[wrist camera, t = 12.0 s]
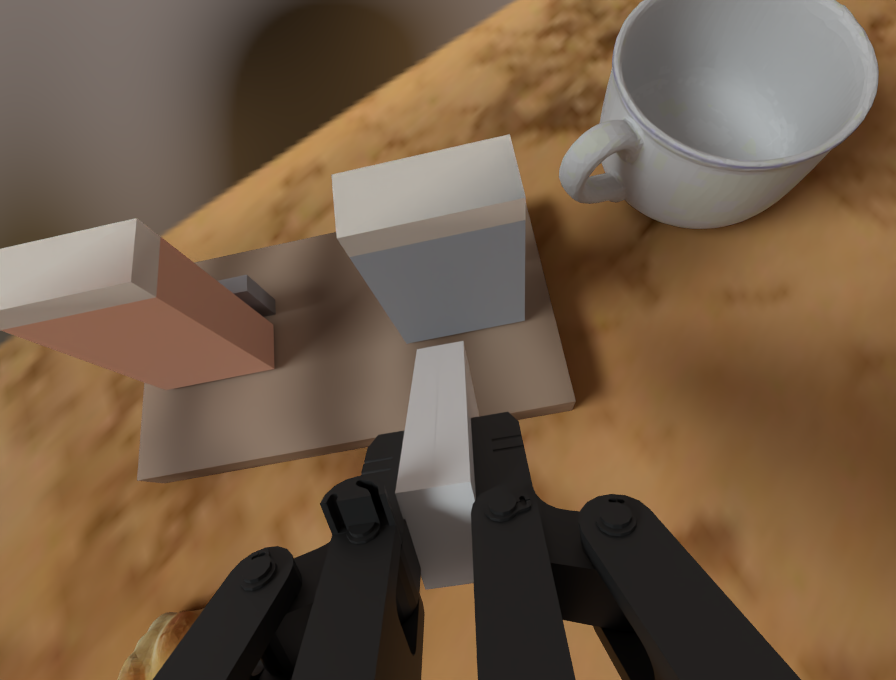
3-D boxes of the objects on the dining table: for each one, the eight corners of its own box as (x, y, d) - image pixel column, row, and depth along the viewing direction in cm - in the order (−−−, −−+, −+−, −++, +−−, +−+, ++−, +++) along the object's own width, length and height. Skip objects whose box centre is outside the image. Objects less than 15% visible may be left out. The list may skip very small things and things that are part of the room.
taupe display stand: (523, 212, 29) (522, 154, 24) (571, 410, 25) (583, 385, 20) (174, 286, 31) (113, 245, 26) (164, 483, 27) (88, 475, 22)
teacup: (728, 78, 30) (795, -65, 23) (830, 218, 26) (951, 100, 19) (513, 154, 31) (510, 37, 23) (581, 303, 27) (604, 220, 19)
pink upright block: (273, 324, 26) (136, 217, 17) (274, 369, 25) (130, 281, 16) (168, 346, 27) (-21, 253, 17) (165, 390, 26) (-35, 317, 17)
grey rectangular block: (514, 276, 25) (509, 134, 16) (524, 320, 24) (525, 197, 15) (401, 299, 26) (331, 174, 16) (406, 343, 25) (336, 238, 16)
